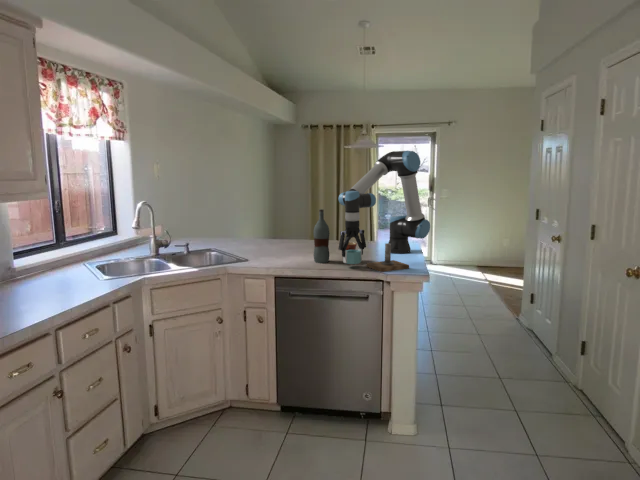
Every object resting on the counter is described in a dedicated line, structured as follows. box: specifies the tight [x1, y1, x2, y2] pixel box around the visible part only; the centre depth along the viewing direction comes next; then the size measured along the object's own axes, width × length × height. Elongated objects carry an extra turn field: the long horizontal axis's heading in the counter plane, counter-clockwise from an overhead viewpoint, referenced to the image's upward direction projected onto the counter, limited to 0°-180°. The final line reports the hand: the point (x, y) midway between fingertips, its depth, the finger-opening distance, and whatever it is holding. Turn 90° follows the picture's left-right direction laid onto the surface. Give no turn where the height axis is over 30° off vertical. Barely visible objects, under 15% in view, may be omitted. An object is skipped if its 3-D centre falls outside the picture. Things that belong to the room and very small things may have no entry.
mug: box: [345, 241, 358, 251], centre depth 259 cm, size 12×9×10 cm
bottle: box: [313, 208, 330, 264], centre depth 258 cm, size 9×9×30 cm
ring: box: [346, 249, 362, 265], centre depth 245 cm, size 8×8×6 cm
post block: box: [366, 242, 410, 273], centre depth 243 cm, size 18×14×13 cm
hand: (352, 261), depth 245 cm, fingers closed on ring, 8 cm apart
